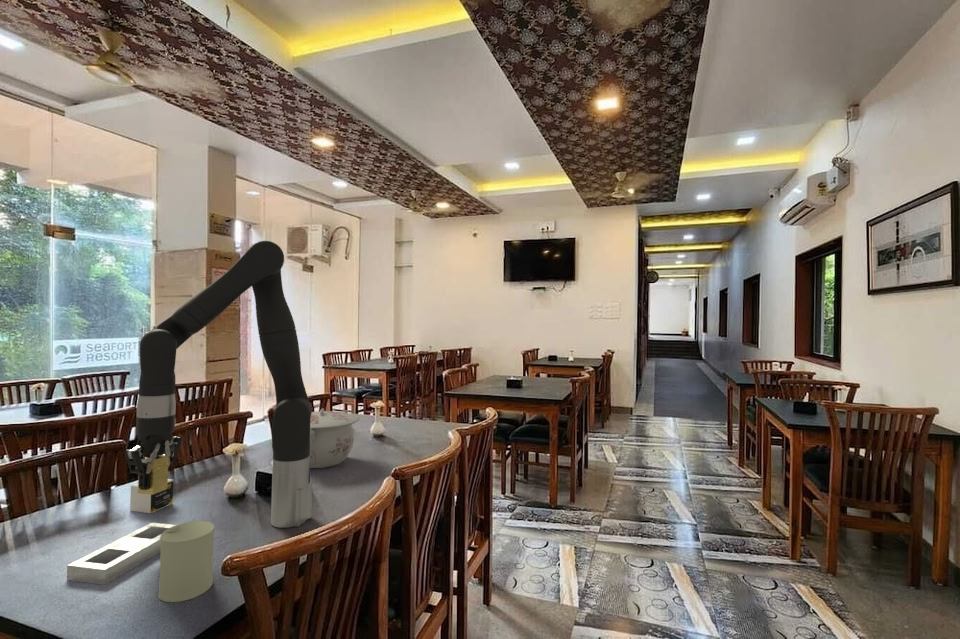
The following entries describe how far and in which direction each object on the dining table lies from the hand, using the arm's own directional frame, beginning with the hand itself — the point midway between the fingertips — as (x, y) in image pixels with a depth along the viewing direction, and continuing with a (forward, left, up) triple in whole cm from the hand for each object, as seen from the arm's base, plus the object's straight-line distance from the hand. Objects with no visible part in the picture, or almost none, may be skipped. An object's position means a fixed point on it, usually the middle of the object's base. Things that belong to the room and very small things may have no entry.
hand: (153, 485), depth 107 cm
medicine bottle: (+18, -18, -14) cm, 29 cm away
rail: (0, +6, -14) cm, 15 cm away
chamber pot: (-8, -65, -14) cm, 67 cm away
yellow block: (0, 0, -1) cm, 1 cm away
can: (-21, +14, -14) cm, 29 cm away
